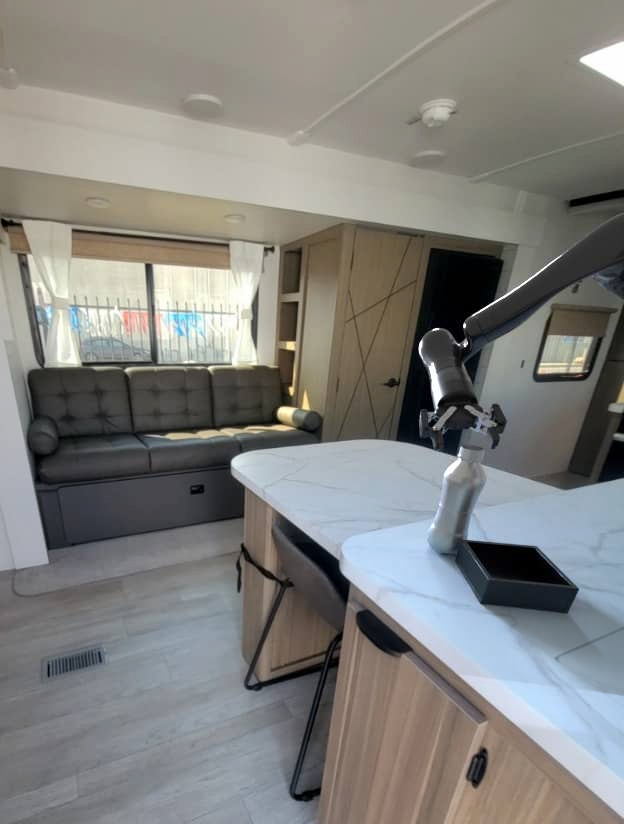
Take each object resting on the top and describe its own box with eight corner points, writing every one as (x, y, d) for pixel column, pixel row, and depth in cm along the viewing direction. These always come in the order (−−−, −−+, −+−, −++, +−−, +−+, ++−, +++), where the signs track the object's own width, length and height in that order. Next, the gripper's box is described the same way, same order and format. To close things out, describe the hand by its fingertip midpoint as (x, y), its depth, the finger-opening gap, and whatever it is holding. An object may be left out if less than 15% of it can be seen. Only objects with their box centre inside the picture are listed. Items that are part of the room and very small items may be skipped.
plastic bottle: (428, 537, 81) (454, 439, 72) (466, 548, 78) (497, 447, 69) (420, 550, 76) (447, 448, 67) (460, 562, 73) (493, 456, 64)
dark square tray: (528, 567, 72) (536, 545, 70) (567, 613, 61) (579, 589, 59) (454, 560, 73) (461, 539, 71) (480, 603, 62) (488, 579, 60)
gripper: (487, 406, 84) (506, 460, 74) (413, 411, 87) (421, 463, 77) (496, 374, 78) (518, 428, 68) (416, 381, 82) (426, 433, 72)
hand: (467, 447), depth 73 cm, fingers open, 8 cm apart
